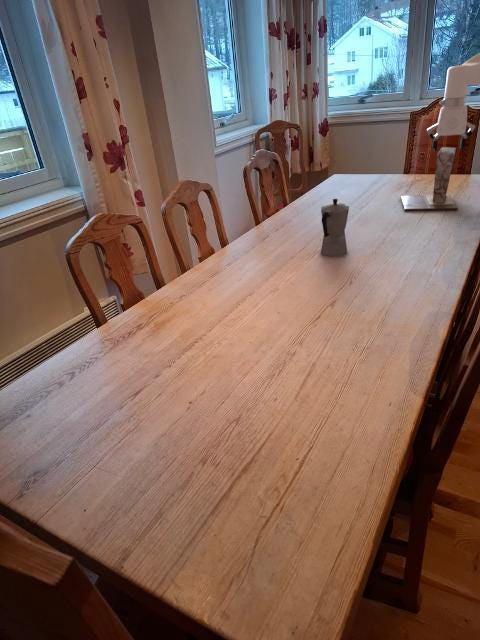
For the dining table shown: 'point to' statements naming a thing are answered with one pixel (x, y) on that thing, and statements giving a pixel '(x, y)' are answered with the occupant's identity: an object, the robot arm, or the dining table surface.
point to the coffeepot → (334, 229)
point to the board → (427, 203)
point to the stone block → (443, 173)
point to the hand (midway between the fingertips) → (447, 149)
